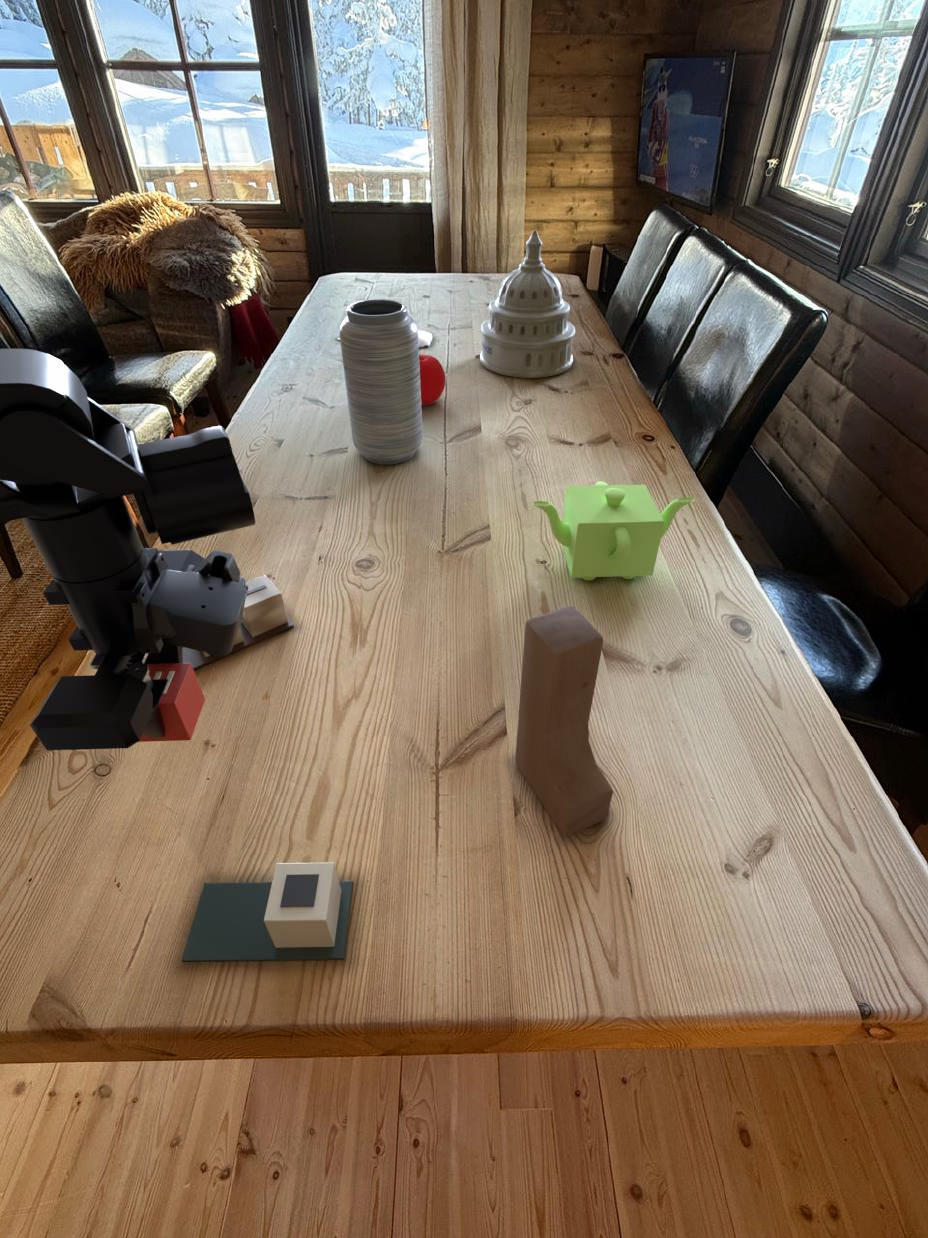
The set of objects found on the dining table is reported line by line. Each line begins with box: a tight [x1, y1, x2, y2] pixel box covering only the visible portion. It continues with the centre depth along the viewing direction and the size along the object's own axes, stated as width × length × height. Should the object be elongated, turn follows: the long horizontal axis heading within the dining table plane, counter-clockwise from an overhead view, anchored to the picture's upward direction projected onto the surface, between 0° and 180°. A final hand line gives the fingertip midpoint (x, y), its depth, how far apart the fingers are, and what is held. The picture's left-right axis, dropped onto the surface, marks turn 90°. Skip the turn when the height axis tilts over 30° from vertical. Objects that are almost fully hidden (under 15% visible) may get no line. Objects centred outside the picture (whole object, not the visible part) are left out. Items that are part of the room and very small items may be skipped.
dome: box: [479, 229, 576, 379], centre depth 135 cm, size 20×25×20 cm
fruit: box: [419, 354, 446, 407], centre depth 123 cm, size 9×9×10 cm
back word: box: [182, 574, 295, 672], centre depth 74 cm, size 16×6×5 cm, turn 127°
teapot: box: [531, 481, 696, 581], centre depth 83 cm, size 15×13×11 cm
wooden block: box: [514, 605, 614, 838], centre depth 54 cm, size 9×4×18 cm, turn 26°
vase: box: [338, 298, 424, 466], centre depth 103 cm, size 12×12×23 cm
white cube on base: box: [180, 862, 354, 964], centre depth 49 cm, size 12×6×5 cm, turn 91°
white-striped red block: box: [138, 663, 206, 743], centre depth 53 cm, size 4×4×4 cm
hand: (167, 714), depth 54 cm, fingers closed on white-striped red block, 4 cm apart
